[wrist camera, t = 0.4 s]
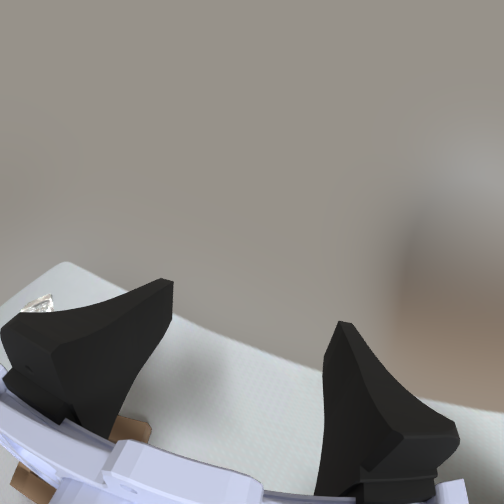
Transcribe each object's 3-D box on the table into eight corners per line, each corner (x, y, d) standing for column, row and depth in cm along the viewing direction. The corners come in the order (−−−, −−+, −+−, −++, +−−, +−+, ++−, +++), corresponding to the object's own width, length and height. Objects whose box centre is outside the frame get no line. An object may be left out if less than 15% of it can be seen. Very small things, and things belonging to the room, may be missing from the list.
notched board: (117, 543, 13) (109, 542, 12) (17, 489, 15) (9, 484, 14) (151, 429, 25) (147, 423, 24) (59, 399, 26) (53, 393, 26)
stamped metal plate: (53, 299, 44) (50, 293, 43) (56, 322, 39) (52, 315, 38) (19, 313, 40) (15, 307, 39) (18, 337, 35) (14, 331, 34)
